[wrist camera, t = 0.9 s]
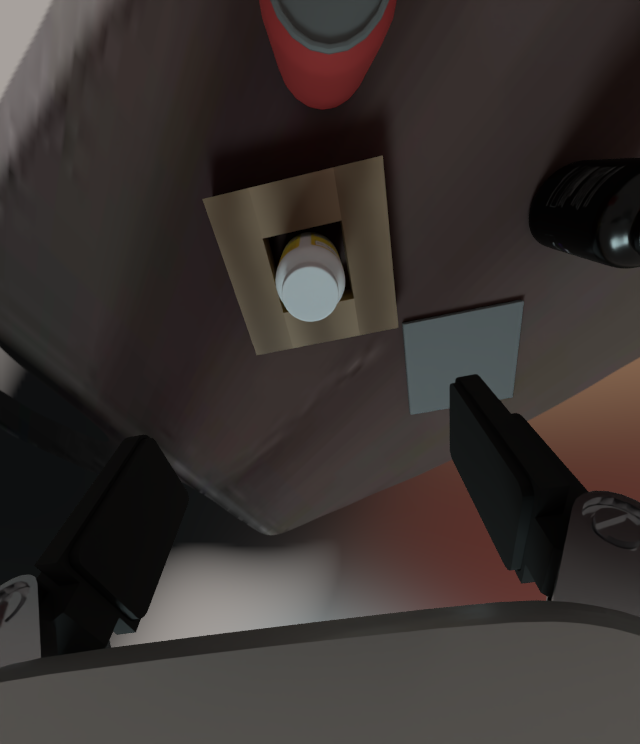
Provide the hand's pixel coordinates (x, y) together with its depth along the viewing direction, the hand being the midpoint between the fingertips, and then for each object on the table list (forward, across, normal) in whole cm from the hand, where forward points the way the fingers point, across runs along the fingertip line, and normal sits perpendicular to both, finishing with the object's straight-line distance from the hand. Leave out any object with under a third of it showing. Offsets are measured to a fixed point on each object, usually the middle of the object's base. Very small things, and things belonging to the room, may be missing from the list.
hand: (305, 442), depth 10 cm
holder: (+24, 0, 0) cm, 24 cm away
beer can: (+24, -4, -14) cm, 28 cm away
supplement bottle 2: (+24, -23, 0) cm, 34 cm away
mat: (+24, -14, +14) cm, 31 cm away
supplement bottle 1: (+24, 0, 0) cm, 24 cm away
